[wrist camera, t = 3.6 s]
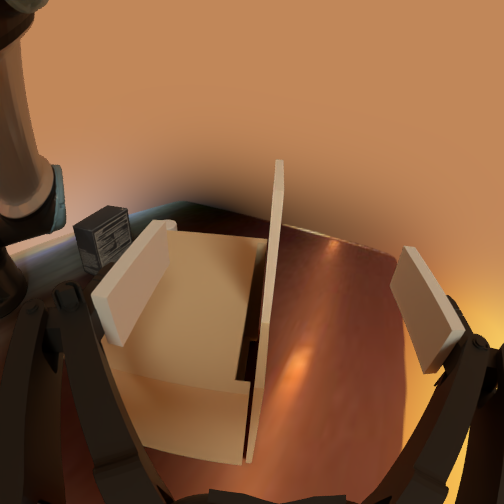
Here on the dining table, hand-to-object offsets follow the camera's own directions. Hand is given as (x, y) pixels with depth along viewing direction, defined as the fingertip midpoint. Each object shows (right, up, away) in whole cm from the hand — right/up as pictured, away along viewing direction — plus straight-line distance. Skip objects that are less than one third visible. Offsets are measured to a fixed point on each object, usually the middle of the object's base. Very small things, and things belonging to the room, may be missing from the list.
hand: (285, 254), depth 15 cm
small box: (-31, -2, +40) cm, 51 cm away
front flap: (-1, -17, +17) cm, 24 cm away
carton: (-9, -16, +18) cm, 26 cm away
